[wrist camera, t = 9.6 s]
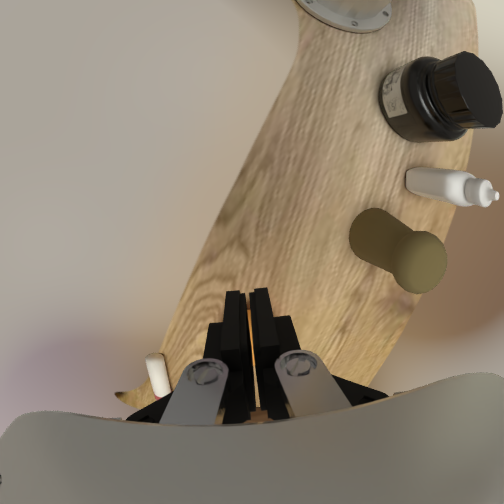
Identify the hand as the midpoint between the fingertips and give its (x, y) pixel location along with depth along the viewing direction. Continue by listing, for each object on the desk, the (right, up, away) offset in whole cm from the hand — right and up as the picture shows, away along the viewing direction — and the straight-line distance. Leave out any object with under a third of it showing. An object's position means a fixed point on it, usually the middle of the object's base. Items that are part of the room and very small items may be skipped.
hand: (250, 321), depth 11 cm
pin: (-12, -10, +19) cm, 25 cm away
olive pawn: (+13, +5, +17) cm, 22 cm away
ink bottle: (+18, +20, +13) cm, 30 cm away
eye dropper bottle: (+20, +11, +16) cm, 28 cm away
